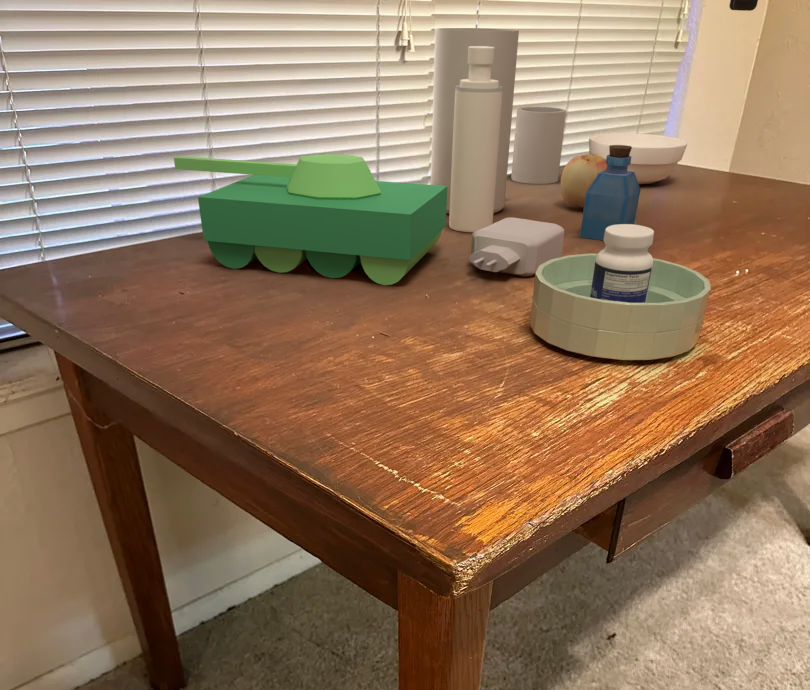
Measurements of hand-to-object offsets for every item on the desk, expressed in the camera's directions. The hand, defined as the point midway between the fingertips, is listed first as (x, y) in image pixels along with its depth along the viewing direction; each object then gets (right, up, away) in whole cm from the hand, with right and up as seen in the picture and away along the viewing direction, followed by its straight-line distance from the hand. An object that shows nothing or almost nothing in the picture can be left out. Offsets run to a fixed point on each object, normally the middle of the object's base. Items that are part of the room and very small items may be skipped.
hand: (741, 10), depth 80 cm
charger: (-23, -21, +19) cm, 36 cm away
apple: (-5, 0, +48) cm, 49 cm away
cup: (-10, +15, +69) cm, 71 cm away
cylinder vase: (-25, 0, +47) cm, 54 cm away
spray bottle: (-25, -8, +37) cm, 46 cm away
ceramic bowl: (-14, -34, 0) cm, 37 cm away
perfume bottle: (-5, -10, +34) cm, 36 cm away
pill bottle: (-14, -34, 0) cm, 37 cm away
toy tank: (-49, -18, +22) cm, 57 cm away
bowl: (+9, +14, +68) cm, 70 cm away
